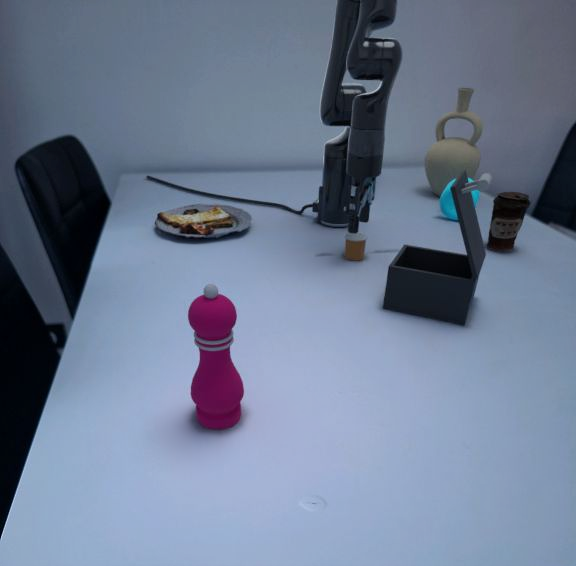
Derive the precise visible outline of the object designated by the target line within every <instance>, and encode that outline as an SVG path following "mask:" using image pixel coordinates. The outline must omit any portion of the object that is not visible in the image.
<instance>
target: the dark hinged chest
mask: <svg viewBox="0 0 576 566" xmlns="http://www.w3.org/2000/svg"><path fill="white" fill-rule="evenodd" d="M387 268H388V269H387V275H386V283H385V290H384V297H383V305H382V309H383V310H387V311H392V312H396V313H402V314H406V315H412V316H416V317H422V318H425V319H431V320H435V321H441V322H445V323H450V324H455V325H460V326H465V325H466V322H467V319H468V317H469V312H470V310H471V308H472V305H473V301H474V298H475V293H476V290H477V286H478V282H479V277H480V276H479V277H478V279H473V276H472V272H471V268H470V264H469V260H468V256H467V254H466V253H458V252H453V251H447V250H441V249H434V248H429V247H422V246H418V245H417V246H416V245H410V244H403V246H402V247H401V248H400V249H399V251H398V252H397V254H396V255H395V257H394V258H393V260H392V261H391V262H390V263H389V265H388V267H387Z"/></svg>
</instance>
